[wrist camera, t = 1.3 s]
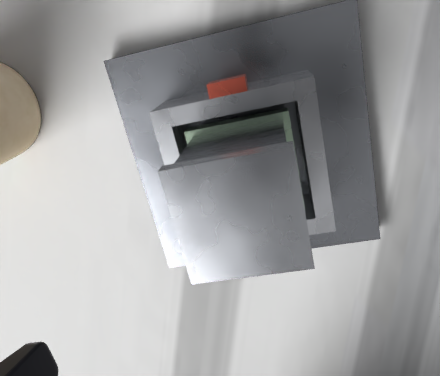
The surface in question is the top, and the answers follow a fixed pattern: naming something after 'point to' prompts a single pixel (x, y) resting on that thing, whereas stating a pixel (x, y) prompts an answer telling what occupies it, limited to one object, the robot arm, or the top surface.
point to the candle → (16, 114)
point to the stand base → (259, 102)
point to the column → (239, 199)
